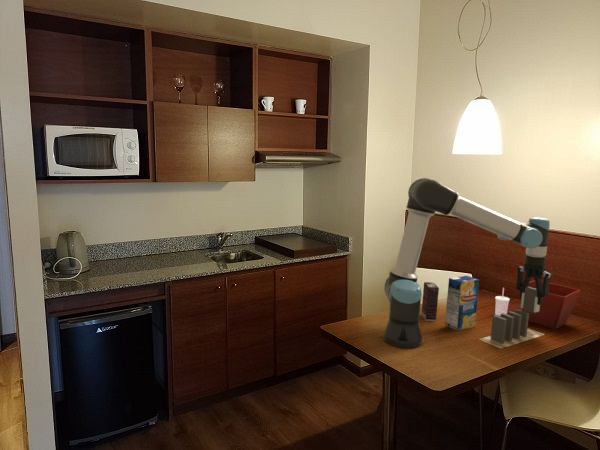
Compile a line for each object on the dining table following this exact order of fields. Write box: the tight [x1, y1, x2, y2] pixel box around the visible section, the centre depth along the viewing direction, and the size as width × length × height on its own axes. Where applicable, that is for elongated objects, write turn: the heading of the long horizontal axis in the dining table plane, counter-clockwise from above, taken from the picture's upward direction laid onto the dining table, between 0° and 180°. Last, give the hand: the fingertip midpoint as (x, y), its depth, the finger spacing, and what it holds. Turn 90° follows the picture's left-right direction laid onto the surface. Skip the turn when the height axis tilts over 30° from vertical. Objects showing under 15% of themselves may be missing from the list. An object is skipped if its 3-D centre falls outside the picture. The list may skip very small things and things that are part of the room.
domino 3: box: [507, 310, 522, 339], centre depth 180 cm, size 2×5×10 cm, turn 31°
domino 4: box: [514, 309, 529, 337], centre depth 182 cm, size 2×5×10 cm, turn 31°
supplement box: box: [420, 281, 440, 322], centre depth 200 cm, size 9×5×16 cm, turn 179°
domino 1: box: [490, 314, 507, 344], centre depth 174 cm, size 2×5×10 cm, turn 31°
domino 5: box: [523, 286, 537, 313], centre depth 183 cm, size 2×5×10 cm, turn 31°
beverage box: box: [444, 275, 480, 331], centre depth 189 cm, size 7×11×22 cm, turn 118°
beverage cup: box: [494, 287, 510, 316], centre depth 206 cm, size 6×6×14 cm
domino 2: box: [500, 313, 515, 342], centre depth 177 cm, size 2×5×10 cm, turn 31°
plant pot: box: [519, 279, 581, 330], centre depth 199 cm, size 19×19×17 cm
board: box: [478, 327, 545, 350], centre depth 180 cm, size 30×10×1 cm, turn 121°
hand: (529, 309), depth 184 cm, fingers closed on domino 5, 5 cm apart
